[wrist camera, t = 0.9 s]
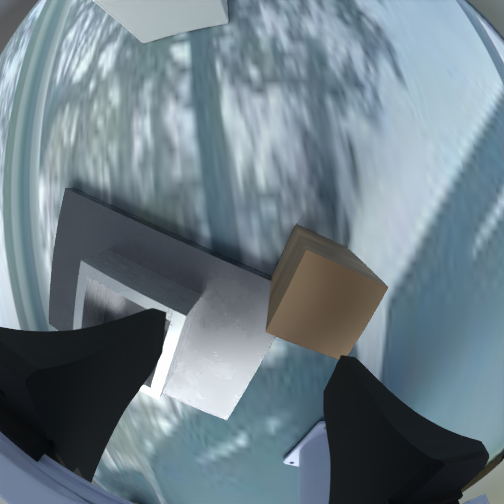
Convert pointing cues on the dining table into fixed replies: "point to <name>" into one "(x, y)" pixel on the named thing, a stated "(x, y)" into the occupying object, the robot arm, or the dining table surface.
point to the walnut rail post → (321, 295)
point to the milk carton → (165, 16)
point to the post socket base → (162, 299)
